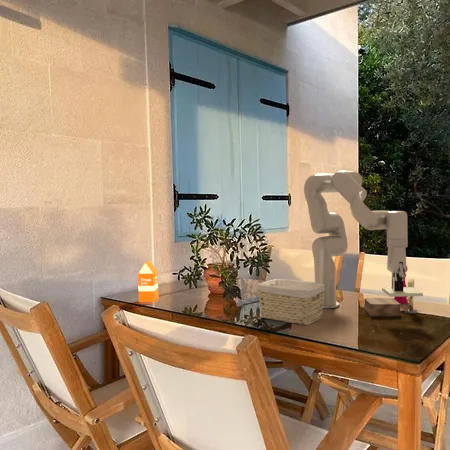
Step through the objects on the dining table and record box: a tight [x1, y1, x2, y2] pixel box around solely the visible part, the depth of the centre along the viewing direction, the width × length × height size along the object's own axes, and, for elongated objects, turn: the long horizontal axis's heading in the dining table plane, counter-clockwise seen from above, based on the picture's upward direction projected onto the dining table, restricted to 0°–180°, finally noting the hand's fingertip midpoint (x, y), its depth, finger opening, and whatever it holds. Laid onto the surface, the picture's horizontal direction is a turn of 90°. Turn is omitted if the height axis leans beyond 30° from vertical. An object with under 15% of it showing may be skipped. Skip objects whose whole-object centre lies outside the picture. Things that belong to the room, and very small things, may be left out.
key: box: [407, 278, 415, 310], centre depth 194 cm, size 12×2×12 cm, turn 153°
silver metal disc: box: [405, 308, 418, 315], centre depth 195 cm, size 4×4×1 cm
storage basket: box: [256, 278, 325, 326], centre depth 190 cm, size 24×16×15 cm
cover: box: [381, 277, 424, 298], centre depth 179 cm, size 12×12×6 cm
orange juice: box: [137, 260, 159, 303], centre depth 229 cm, size 8×9×20 cm
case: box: [363, 297, 402, 317], centre depth 196 cm, size 12×12×5 cm
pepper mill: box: [393, 265, 409, 305], centre depth 214 cm, size 7×7×20 cm
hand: (397, 289), depth 180 cm, fingers closed on cover, 3 cm apart
